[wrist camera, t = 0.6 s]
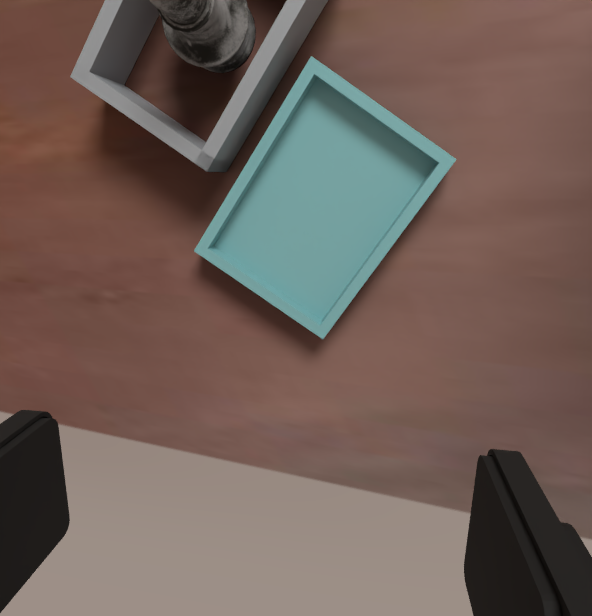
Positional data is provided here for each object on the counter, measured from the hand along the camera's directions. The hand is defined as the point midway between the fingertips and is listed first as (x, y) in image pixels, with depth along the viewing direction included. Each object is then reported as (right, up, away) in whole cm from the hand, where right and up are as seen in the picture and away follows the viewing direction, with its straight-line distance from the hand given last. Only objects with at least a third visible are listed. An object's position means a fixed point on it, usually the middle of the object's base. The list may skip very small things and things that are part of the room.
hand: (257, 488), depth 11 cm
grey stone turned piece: (-5, +24, +25) cm, 35 cm away
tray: (+3, +12, +27) cm, 30 cm away
